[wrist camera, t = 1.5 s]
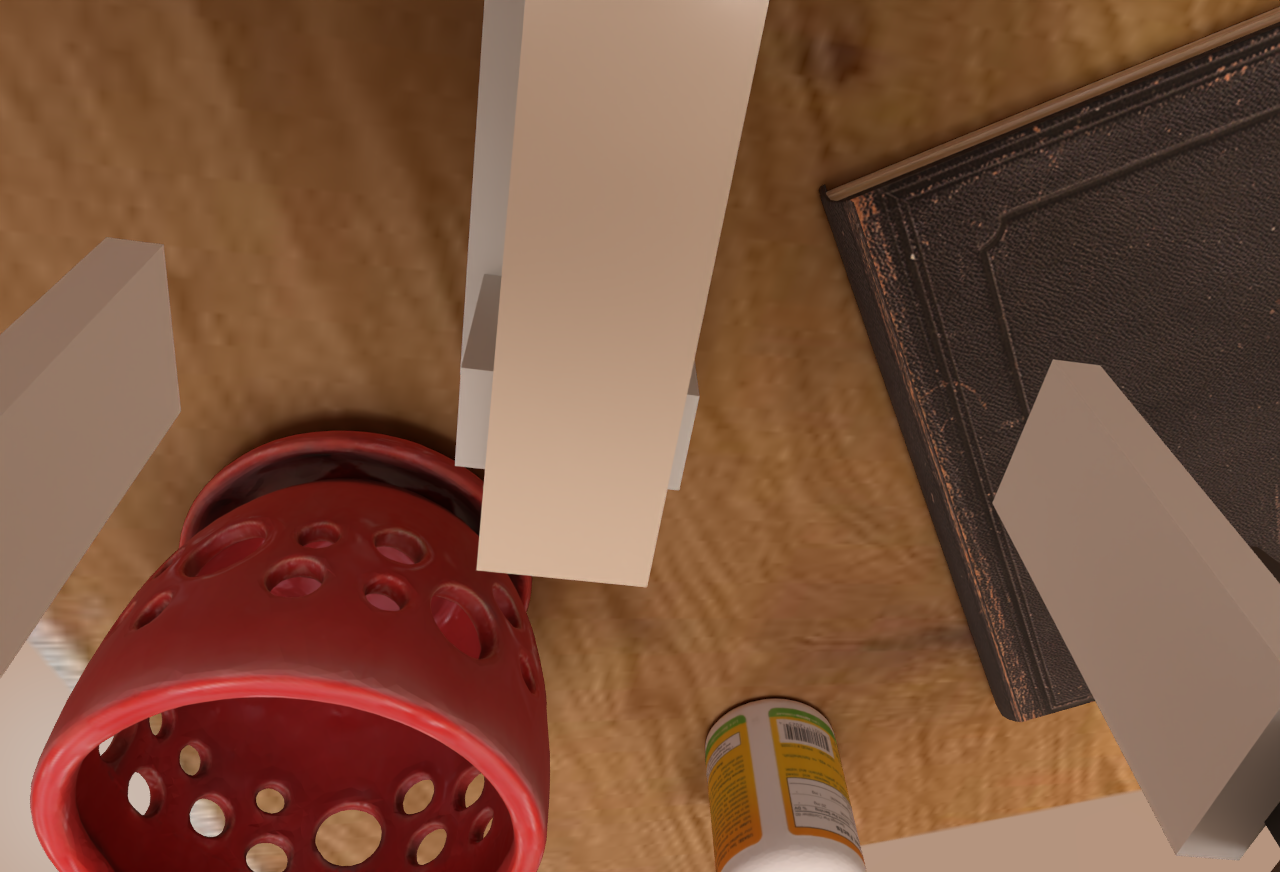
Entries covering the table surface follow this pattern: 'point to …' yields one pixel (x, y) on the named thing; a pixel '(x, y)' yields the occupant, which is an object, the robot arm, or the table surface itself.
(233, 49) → the table surface
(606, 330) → the beige rectangular bar
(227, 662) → the plant pot
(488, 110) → the stand
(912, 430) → the hardcover book
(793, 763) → the supplement bottle
